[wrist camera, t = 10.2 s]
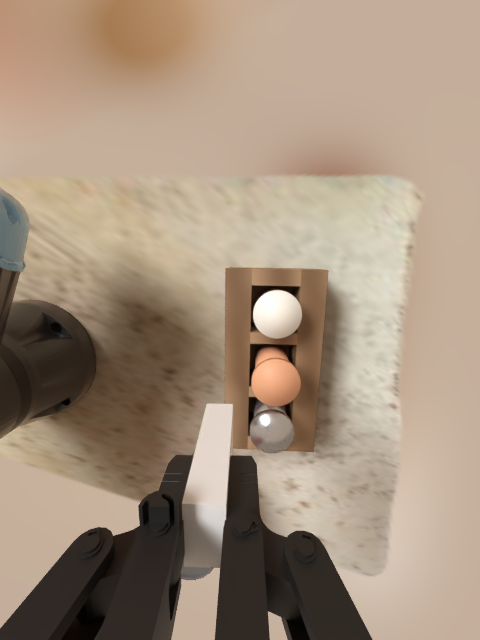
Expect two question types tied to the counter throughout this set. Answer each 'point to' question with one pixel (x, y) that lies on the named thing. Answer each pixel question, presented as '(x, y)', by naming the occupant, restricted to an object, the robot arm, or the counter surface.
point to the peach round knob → (274, 376)
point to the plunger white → (277, 313)
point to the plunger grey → (271, 428)
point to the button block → (298, 345)
